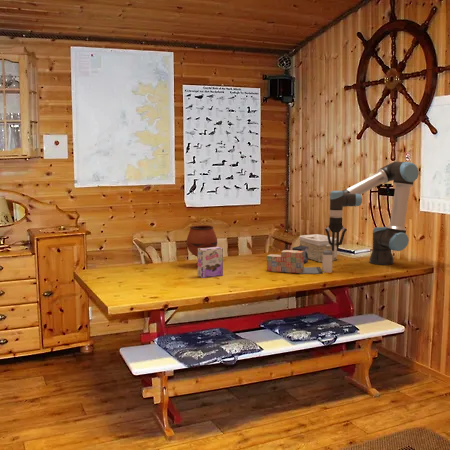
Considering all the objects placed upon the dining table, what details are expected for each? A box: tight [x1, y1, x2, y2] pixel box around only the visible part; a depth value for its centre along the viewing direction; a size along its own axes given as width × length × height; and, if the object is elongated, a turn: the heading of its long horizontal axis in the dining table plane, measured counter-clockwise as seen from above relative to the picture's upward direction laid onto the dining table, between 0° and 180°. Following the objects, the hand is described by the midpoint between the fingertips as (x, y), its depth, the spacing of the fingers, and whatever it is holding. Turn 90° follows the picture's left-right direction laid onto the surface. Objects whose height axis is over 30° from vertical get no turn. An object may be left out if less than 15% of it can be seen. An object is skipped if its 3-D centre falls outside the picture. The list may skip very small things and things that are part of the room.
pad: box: [299, 266, 324, 275], centre depth 345 cm, size 14×16×1 cm
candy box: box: [197, 246, 224, 279], centre depth 333 cm, size 14×6×16 cm, turn 117°
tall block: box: [321, 251, 333, 273], centre depth 344 cm, size 5×6×12 cm
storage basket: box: [298, 233, 338, 263], centre depth 382 cm, size 24×16×15 cm
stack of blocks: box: [266, 249, 305, 274], centre depth 343 cm, size 21×6×12 cm, turn 66°
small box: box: [291, 245, 309, 264], centre depth 368 cm, size 11×6×10 cm, turn 143°
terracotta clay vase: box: [186, 224, 218, 268], centre depth 360 cm, size 19×19×25 cm
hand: (334, 256), depth 343 cm, fingers closed
